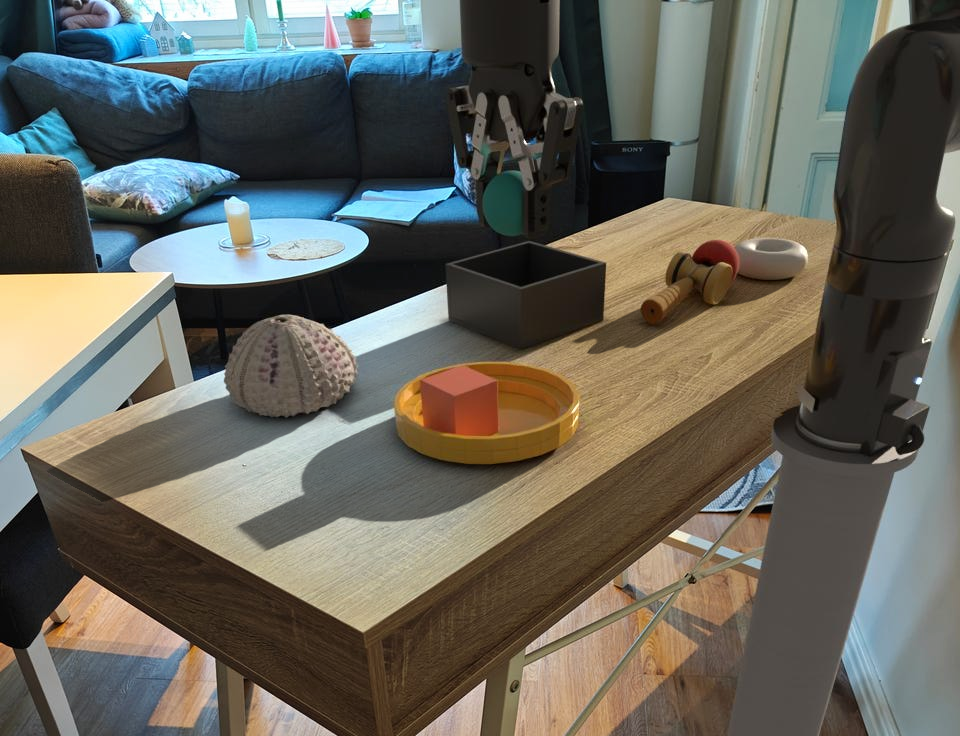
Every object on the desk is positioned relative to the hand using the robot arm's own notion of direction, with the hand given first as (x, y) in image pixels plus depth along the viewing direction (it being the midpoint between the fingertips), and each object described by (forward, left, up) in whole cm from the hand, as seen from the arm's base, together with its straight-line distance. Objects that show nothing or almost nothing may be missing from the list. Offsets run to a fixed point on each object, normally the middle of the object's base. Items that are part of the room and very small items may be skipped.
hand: (512, 229), depth 77 cm
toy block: (-1, +7, -16) cm, 18 cm away
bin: (+18, -18, -17) cm, 30 cm away
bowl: (-1, +4, -17) cm, 17 cm away
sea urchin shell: (+18, +14, -17) cm, 29 cm away
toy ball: (0, 0, 0) cm, 0 cm away
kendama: (+8, -36, -17) cm, 40 cm away
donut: (+9, -53, -17) cm, 56 cm away
